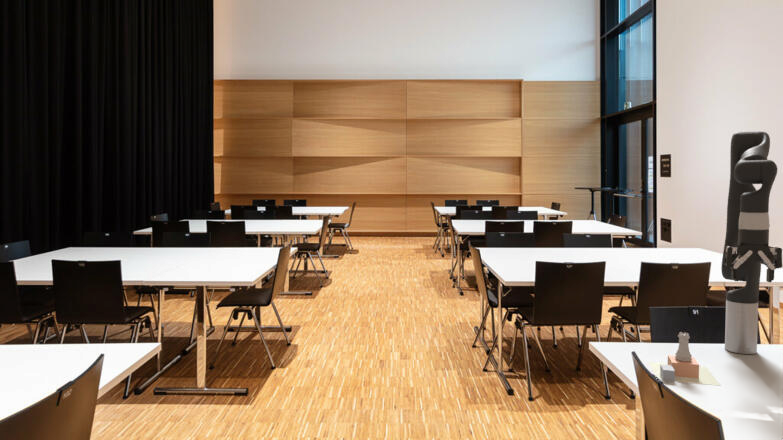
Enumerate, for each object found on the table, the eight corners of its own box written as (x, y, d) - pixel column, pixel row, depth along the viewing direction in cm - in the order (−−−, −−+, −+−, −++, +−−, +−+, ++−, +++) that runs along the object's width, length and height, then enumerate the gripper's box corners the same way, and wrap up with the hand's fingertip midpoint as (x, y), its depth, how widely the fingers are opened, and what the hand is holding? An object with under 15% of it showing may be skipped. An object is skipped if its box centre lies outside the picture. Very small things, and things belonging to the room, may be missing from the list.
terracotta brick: (667, 368, 162) (667, 355, 162) (693, 370, 160) (693, 357, 160) (671, 375, 155) (672, 362, 155) (698, 378, 153) (699, 364, 153)
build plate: (649, 365, 168) (649, 362, 168) (706, 370, 163) (706, 367, 163) (657, 383, 153) (657, 379, 153) (720, 389, 148) (720, 385, 148)
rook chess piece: (694, 362, 155) (695, 335, 154) (677, 361, 156) (678, 335, 155) (688, 357, 159) (689, 331, 159) (672, 357, 160) (673, 330, 160)
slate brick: (660, 374, 157) (660, 364, 157) (671, 375, 156) (671, 365, 156) (663, 380, 152) (663, 369, 152) (674, 381, 151) (675, 370, 151)
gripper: (777, 226, 160) (775, 280, 161) (722, 226, 164) (721, 278, 165) (786, 228, 152) (785, 284, 154) (729, 228, 157) (728, 282, 158)
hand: (752, 281), depth 159 cm, fingers open, 8 cm apart
